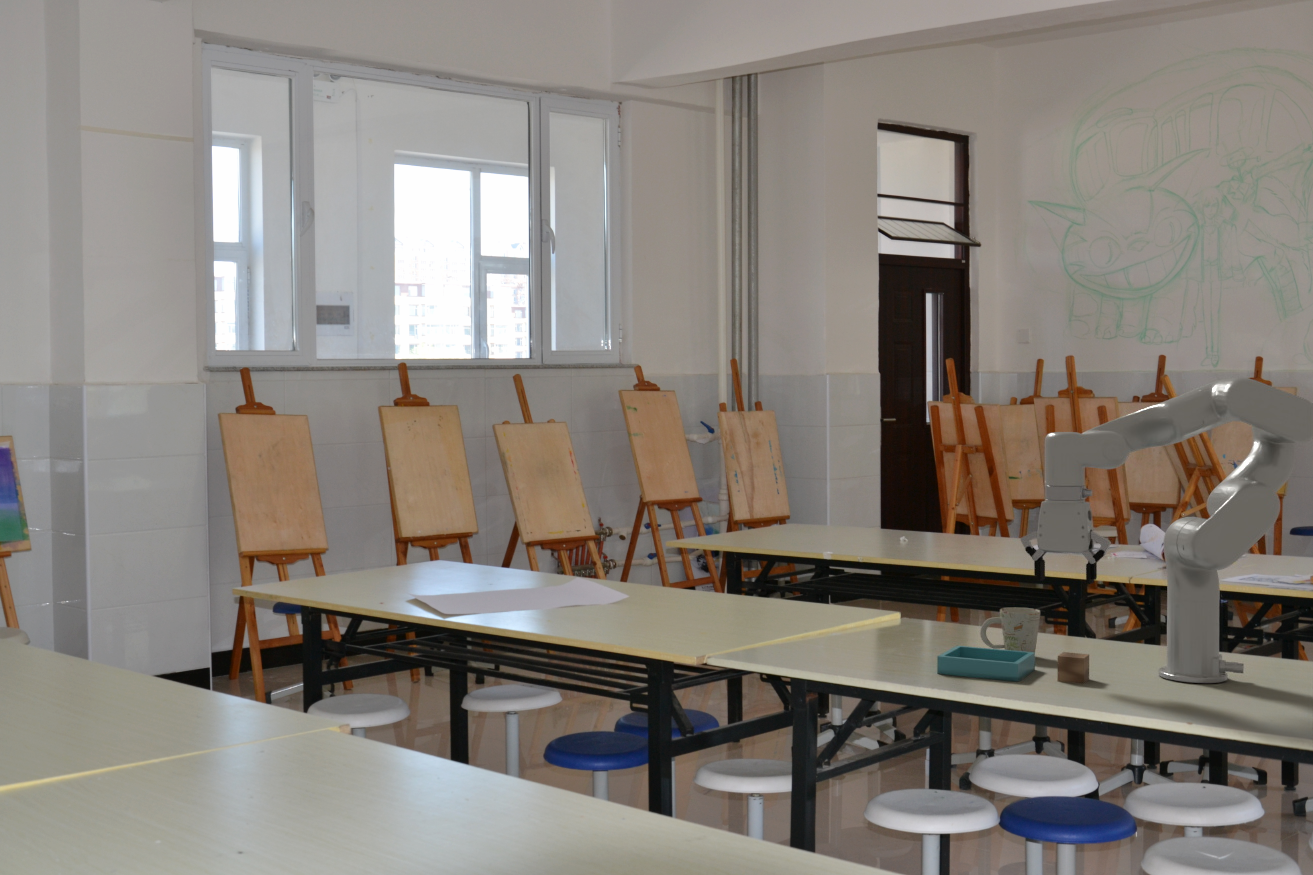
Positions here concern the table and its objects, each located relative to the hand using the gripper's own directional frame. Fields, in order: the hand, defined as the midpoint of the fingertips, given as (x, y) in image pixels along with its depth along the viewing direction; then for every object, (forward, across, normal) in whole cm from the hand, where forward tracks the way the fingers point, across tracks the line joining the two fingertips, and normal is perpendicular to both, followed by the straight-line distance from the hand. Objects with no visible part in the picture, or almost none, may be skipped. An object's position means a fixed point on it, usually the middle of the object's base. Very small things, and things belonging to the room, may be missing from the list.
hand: (1065, 581), depth 251 cm
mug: (+19, +17, -16) cm, 30 cm away
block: (+19, -2, +1) cm, 19 cm away
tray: (+19, +15, +2) cm, 24 cm away
